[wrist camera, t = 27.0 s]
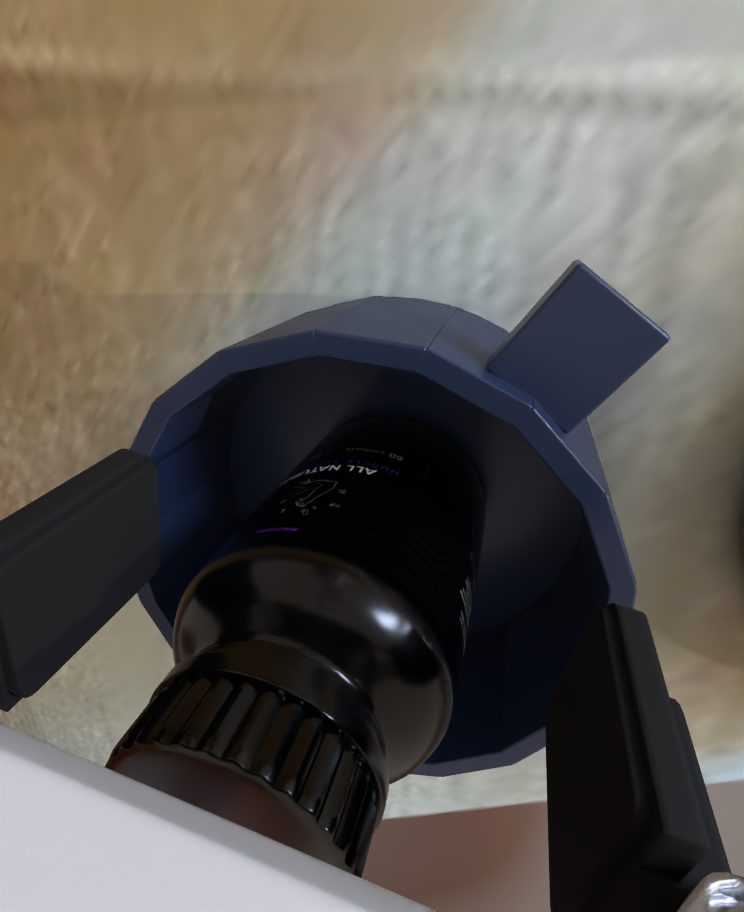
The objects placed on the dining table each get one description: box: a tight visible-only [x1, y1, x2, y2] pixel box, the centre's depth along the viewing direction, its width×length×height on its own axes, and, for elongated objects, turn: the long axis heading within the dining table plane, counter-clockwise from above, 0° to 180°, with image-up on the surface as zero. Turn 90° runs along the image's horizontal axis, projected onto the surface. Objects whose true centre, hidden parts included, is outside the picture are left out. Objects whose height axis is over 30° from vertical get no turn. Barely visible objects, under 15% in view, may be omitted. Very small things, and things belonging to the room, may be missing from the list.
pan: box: [130, 260, 670, 777], centre depth 17 cm, size 14×20×6 cm
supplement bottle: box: [105, 417, 486, 878], centre depth 14 cm, size 7×7×12 cm
